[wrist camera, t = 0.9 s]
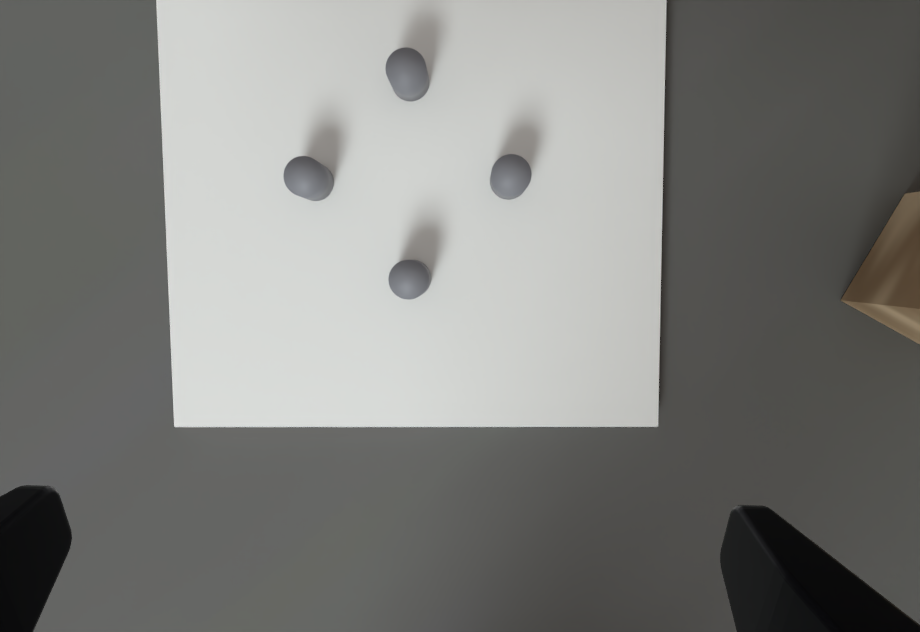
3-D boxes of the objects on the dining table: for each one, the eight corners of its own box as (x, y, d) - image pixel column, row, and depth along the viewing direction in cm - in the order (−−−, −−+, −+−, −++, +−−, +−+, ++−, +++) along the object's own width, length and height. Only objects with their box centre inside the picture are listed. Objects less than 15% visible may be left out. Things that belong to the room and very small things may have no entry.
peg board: (651, 420, 23) (671, 439, 20) (184, 421, 23) (152, 439, 21) (660, -71, 21) (683, -111, 19) (165, -64, 22) (128, -102, 19)
